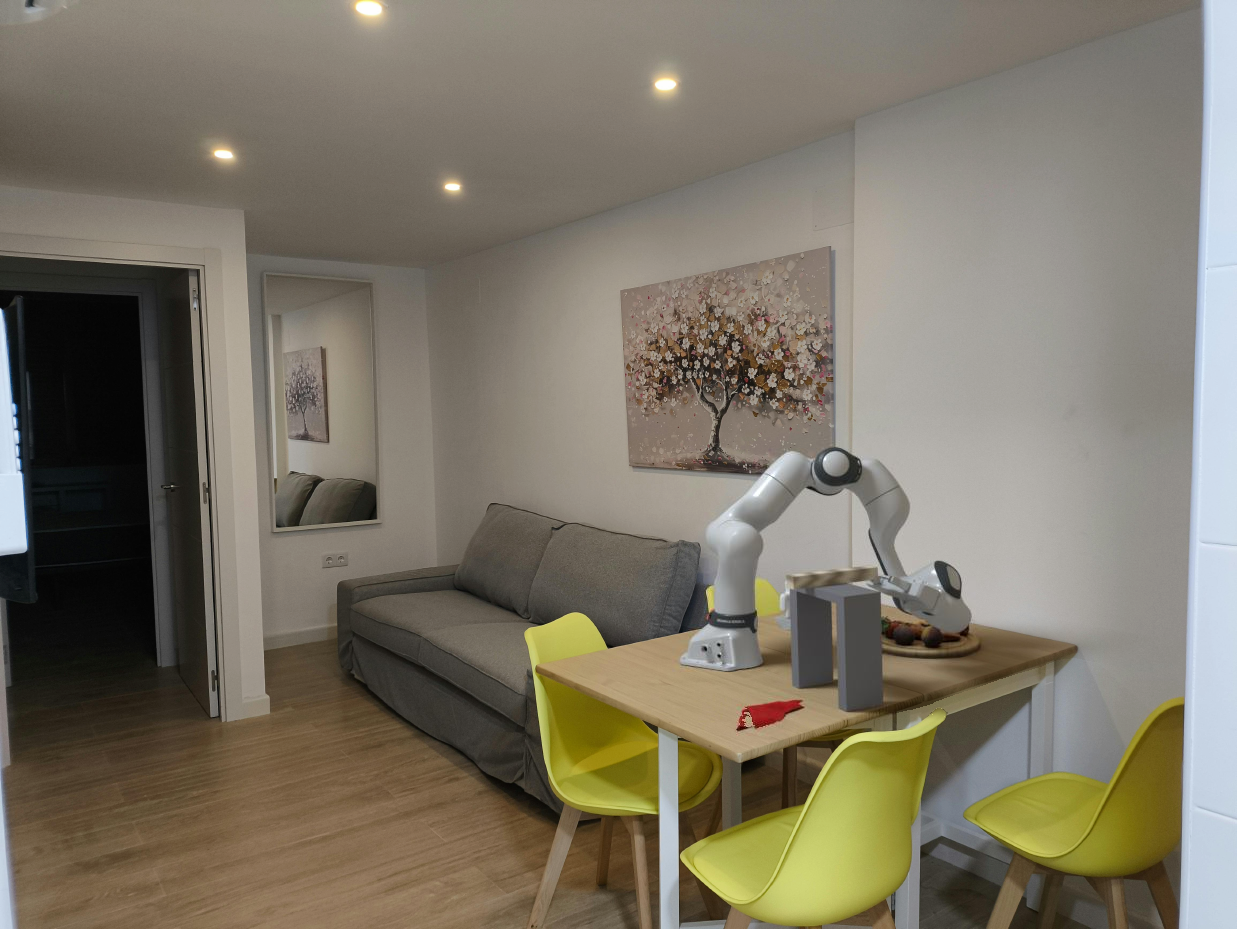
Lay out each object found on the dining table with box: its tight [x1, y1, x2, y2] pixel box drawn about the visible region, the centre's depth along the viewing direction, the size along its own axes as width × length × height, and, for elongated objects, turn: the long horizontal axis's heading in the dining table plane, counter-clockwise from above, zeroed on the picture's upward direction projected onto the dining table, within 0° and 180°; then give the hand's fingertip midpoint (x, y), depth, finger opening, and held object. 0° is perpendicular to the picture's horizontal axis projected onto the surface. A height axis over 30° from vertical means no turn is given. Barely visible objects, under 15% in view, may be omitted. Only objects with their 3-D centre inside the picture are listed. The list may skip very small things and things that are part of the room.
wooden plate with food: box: [881, 615, 982, 660], centre depth 246 cm, size 32×32×8 cm
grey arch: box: [790, 583, 884, 713], centre depth 203 cm, size 10×22×26 cm, turn 21°
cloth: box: [735, 699, 804, 731], centre depth 192 cm, size 26×14×2 cm, turn 124°
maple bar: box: [785, 565, 879, 590], centre depth 206 cm, size 24×3×3 cm, turn 111°
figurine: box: [774, 580, 791, 631], centre depth 269 cm, size 7×9×15 cm
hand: (878, 575), depth 211 cm, fingers open, 8 cm apart
